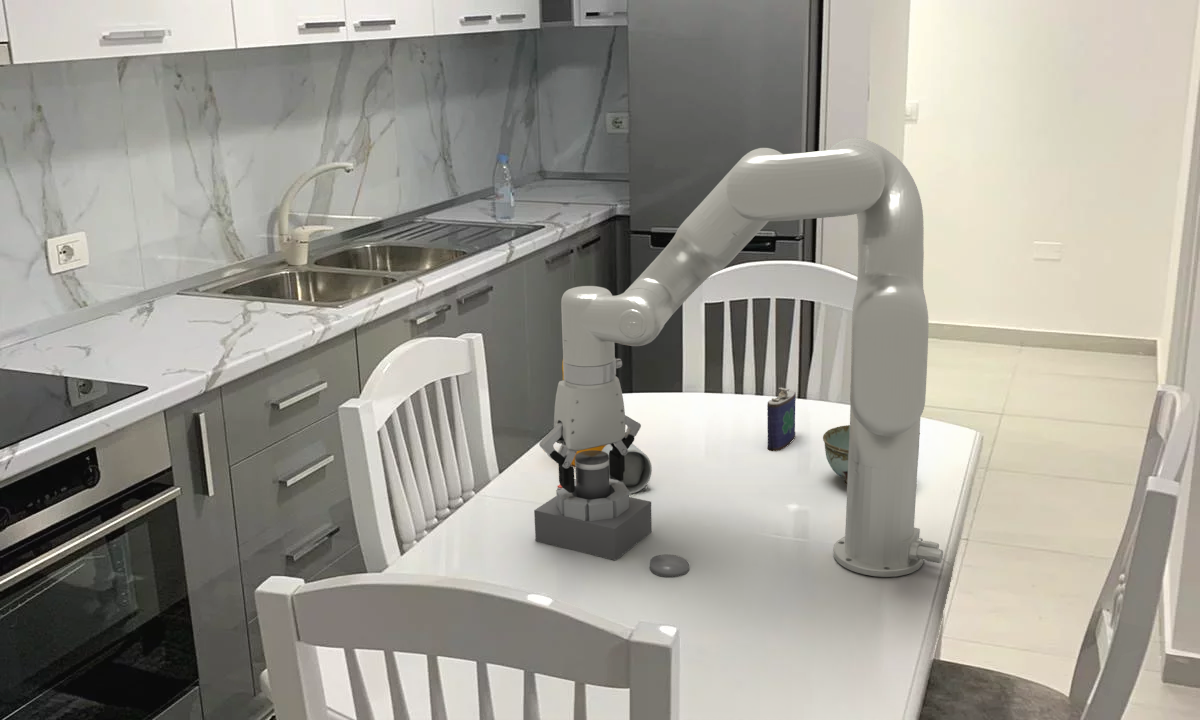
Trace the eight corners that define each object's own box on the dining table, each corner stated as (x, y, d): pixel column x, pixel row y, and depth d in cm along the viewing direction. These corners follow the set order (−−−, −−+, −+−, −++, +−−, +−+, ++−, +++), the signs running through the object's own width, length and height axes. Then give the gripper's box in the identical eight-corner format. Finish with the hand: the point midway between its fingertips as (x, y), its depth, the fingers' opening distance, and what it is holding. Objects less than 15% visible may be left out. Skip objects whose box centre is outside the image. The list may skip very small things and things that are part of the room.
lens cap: (642, 562, 166) (643, 557, 165) (676, 557, 168) (677, 551, 168) (661, 580, 161) (661, 574, 161) (695, 574, 163) (696, 569, 163)
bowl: (853, 504, 184) (855, 458, 182) (805, 476, 196) (806, 431, 194) (921, 489, 189) (924, 443, 187) (871, 462, 201) (873, 419, 199)
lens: (599, 496, 177) (598, 447, 175) (616, 508, 173) (615, 458, 170) (570, 503, 175) (568, 454, 172) (586, 515, 170) (584, 464, 168)
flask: (784, 434, 215) (786, 379, 212) (799, 437, 214) (801, 382, 211) (764, 450, 208) (765, 394, 205) (779, 453, 207) (780, 396, 203)
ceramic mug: (637, 473, 199) (636, 431, 197) (653, 491, 191) (651, 448, 189) (578, 482, 196) (576, 440, 194) (591, 500, 188) (589, 457, 186)
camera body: (651, 531, 176) (651, 485, 174) (615, 560, 167) (614, 511, 165) (574, 514, 183) (572, 469, 181) (535, 540, 174) (533, 493, 172)
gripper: (627, 356, 175) (629, 464, 180) (524, 375, 167) (529, 487, 172) (653, 368, 168) (655, 480, 173) (547, 388, 160) (551, 505, 165)
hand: (592, 483), depth 173 cm, fingers open, 7 cm apart
